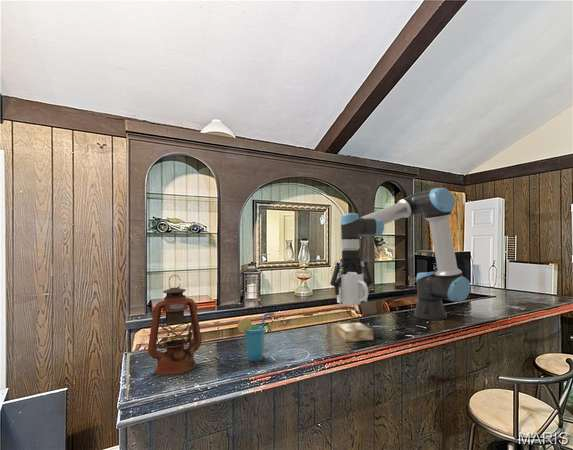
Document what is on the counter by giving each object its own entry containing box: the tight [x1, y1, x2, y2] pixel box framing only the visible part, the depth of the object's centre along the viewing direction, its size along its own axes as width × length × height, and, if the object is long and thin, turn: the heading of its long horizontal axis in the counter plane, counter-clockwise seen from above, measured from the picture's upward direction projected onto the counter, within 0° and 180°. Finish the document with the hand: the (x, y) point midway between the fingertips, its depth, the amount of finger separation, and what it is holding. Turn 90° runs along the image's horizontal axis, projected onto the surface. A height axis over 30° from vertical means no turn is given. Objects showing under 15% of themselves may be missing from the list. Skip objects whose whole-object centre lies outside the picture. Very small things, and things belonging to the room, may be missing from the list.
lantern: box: [147, 274, 203, 376], centre depth 105 cm, size 17×13×30 cm
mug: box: [336, 271, 369, 307], centre depth 134 cm, size 15×11×13 cm
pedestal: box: [334, 322, 374, 343], centre depth 134 cm, size 12×12×4 cm
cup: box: [236, 312, 275, 362], centre depth 112 cm, size 14×8×15 cm, turn 123°
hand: (352, 302), depth 134 cm, fingers closed on mug, 11 cm apart
